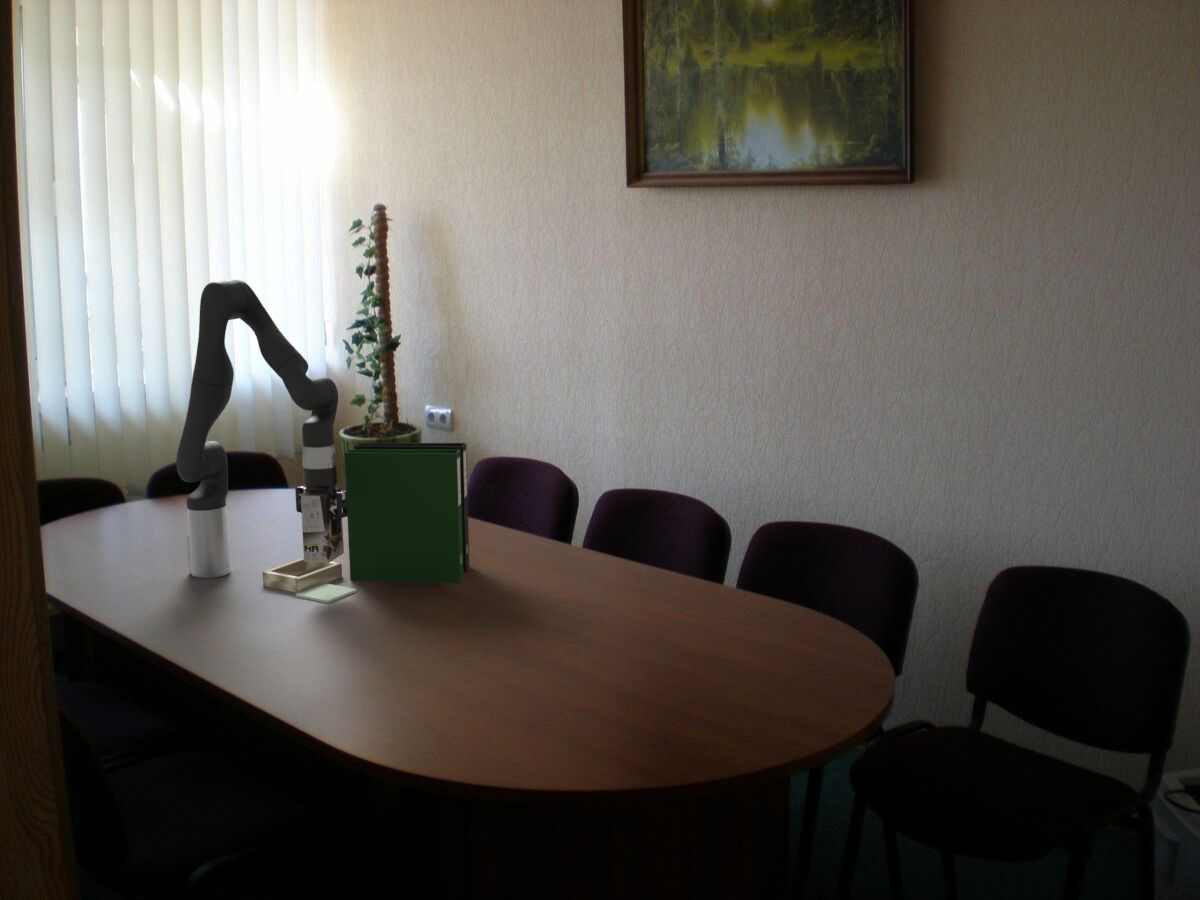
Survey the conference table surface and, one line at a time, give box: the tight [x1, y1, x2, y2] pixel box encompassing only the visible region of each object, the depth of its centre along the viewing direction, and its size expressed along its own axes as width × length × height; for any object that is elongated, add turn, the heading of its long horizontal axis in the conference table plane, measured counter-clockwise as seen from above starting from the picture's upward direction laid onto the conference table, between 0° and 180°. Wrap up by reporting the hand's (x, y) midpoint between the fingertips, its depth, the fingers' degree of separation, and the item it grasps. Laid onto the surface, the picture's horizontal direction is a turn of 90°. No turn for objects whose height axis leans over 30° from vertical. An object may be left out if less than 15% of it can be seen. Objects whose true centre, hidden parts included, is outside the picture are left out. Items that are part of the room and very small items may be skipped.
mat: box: [295, 583, 358, 604], centre depth 279 cm, size 10×10×1 cm
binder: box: [344, 442, 470, 584], centre depth 292 cm, size 27×15×32 cm, turn 87°
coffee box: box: [301, 487, 345, 563], centre depth 276 cm, size 9×6×16 cm
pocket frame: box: [261, 557, 343, 594], centre depth 289 cm, size 12×15×4 cm
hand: (323, 532), depth 276 cm, fingers closed on coffee box, 7 cm apart
